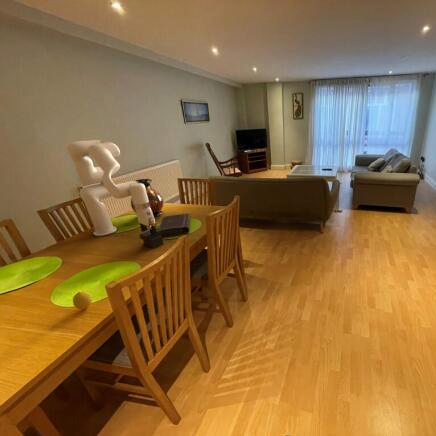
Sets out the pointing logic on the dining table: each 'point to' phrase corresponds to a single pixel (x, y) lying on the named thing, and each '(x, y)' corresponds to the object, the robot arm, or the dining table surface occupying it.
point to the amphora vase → (151, 198)
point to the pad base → (153, 244)
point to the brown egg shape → (82, 300)
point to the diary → (175, 224)
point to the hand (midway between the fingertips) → (149, 232)
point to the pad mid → (154, 240)
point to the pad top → (148, 236)
